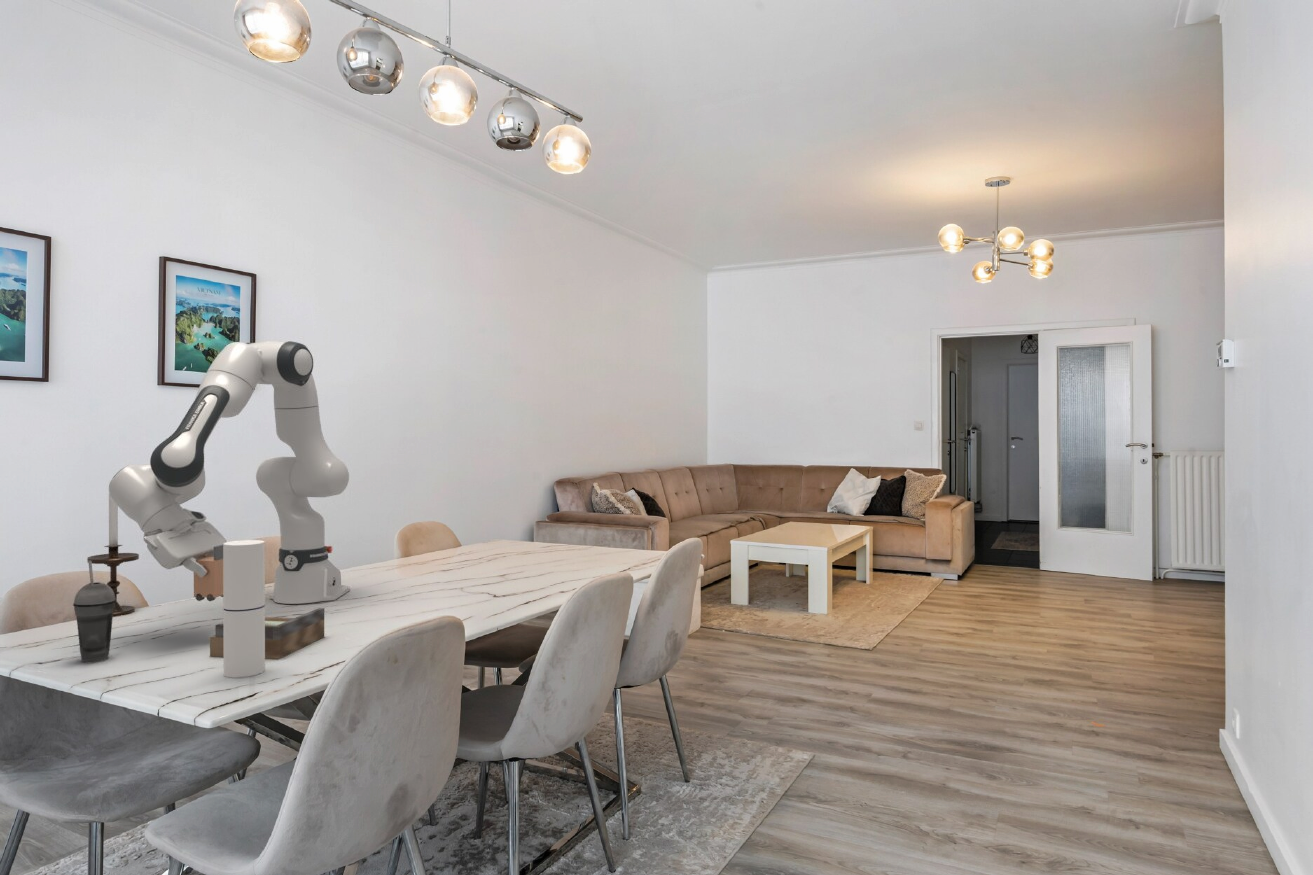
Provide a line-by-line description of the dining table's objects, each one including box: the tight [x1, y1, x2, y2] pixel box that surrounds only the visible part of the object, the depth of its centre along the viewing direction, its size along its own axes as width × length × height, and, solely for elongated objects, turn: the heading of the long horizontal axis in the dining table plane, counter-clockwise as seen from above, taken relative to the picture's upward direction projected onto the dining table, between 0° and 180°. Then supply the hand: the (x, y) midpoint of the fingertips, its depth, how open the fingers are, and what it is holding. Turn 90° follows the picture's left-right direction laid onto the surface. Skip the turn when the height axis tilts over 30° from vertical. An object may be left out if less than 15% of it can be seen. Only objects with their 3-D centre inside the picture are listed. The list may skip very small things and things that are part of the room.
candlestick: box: [86, 493, 140, 617], centre depth 207 cm, size 11×11×35 cm
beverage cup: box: [72, 561, 116, 663], centre depth 166 cm, size 7×7×20 cm
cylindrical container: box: [222, 539, 266, 679], centre depth 158 cm, size 7×7×25 cm
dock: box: [209, 607, 325, 660], centre depth 177 cm, size 18×15×6 cm
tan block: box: [193, 545, 223, 602], centre depth 180 cm, size 5×5×12 cm
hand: (214, 571), depth 180 cm, fingers closed on tan block, 5 cm apart
